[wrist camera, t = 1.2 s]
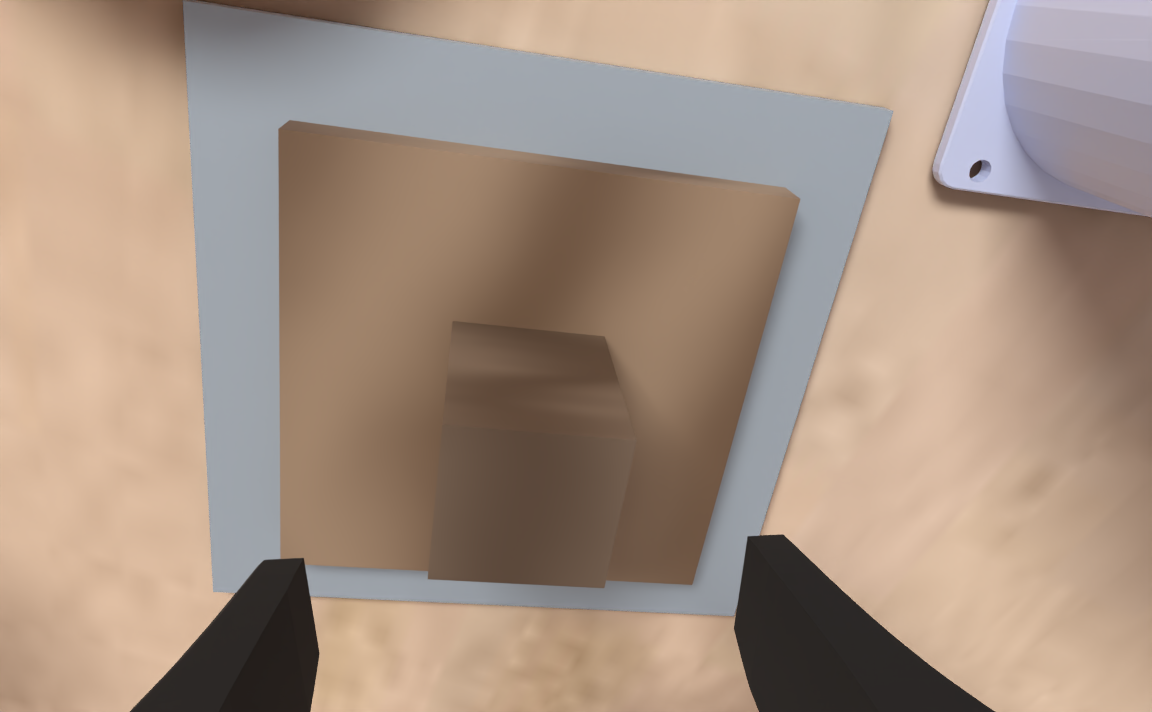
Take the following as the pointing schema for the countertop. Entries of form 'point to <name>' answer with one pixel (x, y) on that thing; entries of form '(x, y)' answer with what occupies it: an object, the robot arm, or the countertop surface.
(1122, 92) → the robot arm
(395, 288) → the cover board
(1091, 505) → the countertop surface
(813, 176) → the rubber mat
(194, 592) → the countertop surface
